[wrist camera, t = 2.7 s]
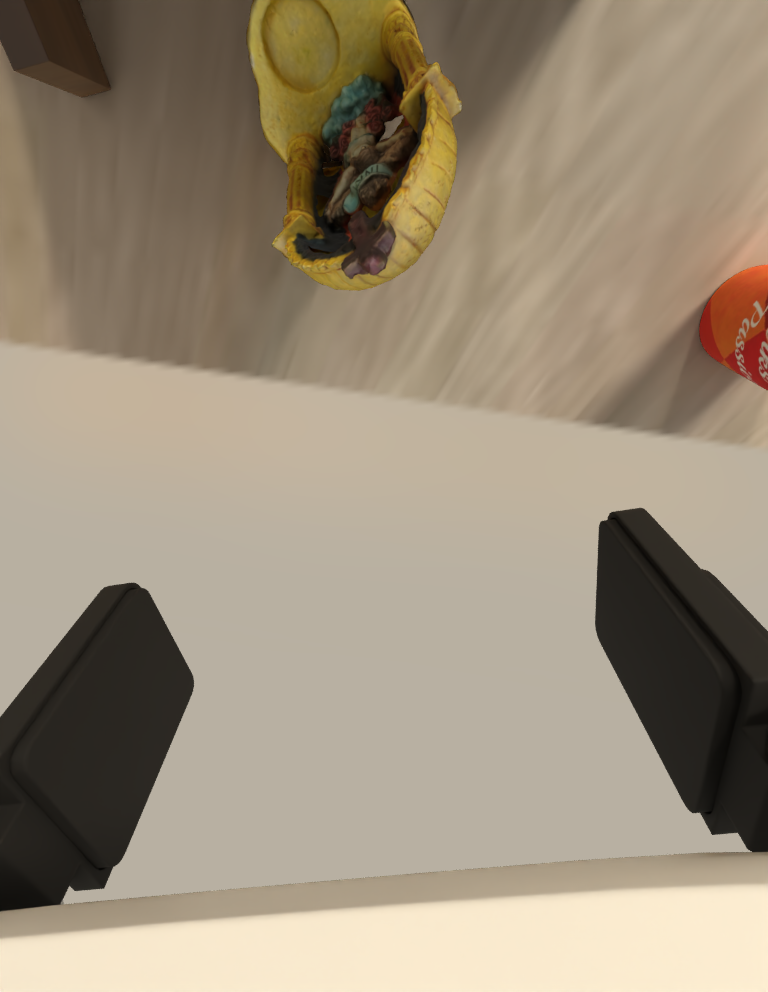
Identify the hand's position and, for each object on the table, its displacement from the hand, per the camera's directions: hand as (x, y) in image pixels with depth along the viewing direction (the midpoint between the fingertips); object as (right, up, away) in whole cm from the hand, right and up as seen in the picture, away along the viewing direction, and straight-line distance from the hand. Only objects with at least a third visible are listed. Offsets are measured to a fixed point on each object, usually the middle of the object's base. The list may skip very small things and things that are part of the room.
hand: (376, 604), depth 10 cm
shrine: (-1, +21, +15) cm, 25 cm away
